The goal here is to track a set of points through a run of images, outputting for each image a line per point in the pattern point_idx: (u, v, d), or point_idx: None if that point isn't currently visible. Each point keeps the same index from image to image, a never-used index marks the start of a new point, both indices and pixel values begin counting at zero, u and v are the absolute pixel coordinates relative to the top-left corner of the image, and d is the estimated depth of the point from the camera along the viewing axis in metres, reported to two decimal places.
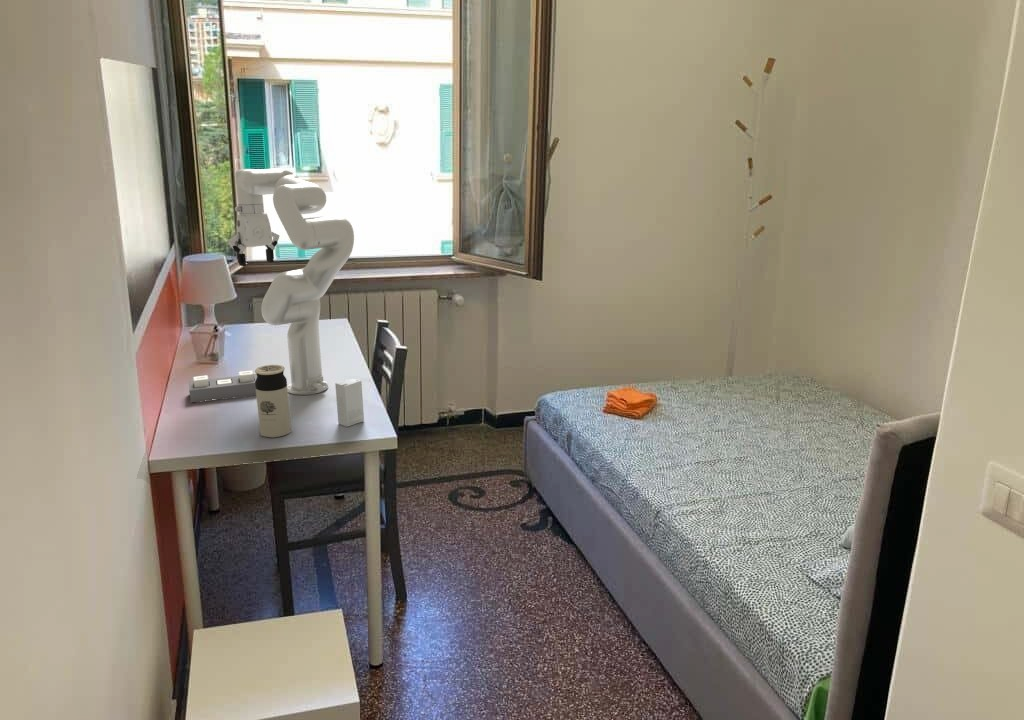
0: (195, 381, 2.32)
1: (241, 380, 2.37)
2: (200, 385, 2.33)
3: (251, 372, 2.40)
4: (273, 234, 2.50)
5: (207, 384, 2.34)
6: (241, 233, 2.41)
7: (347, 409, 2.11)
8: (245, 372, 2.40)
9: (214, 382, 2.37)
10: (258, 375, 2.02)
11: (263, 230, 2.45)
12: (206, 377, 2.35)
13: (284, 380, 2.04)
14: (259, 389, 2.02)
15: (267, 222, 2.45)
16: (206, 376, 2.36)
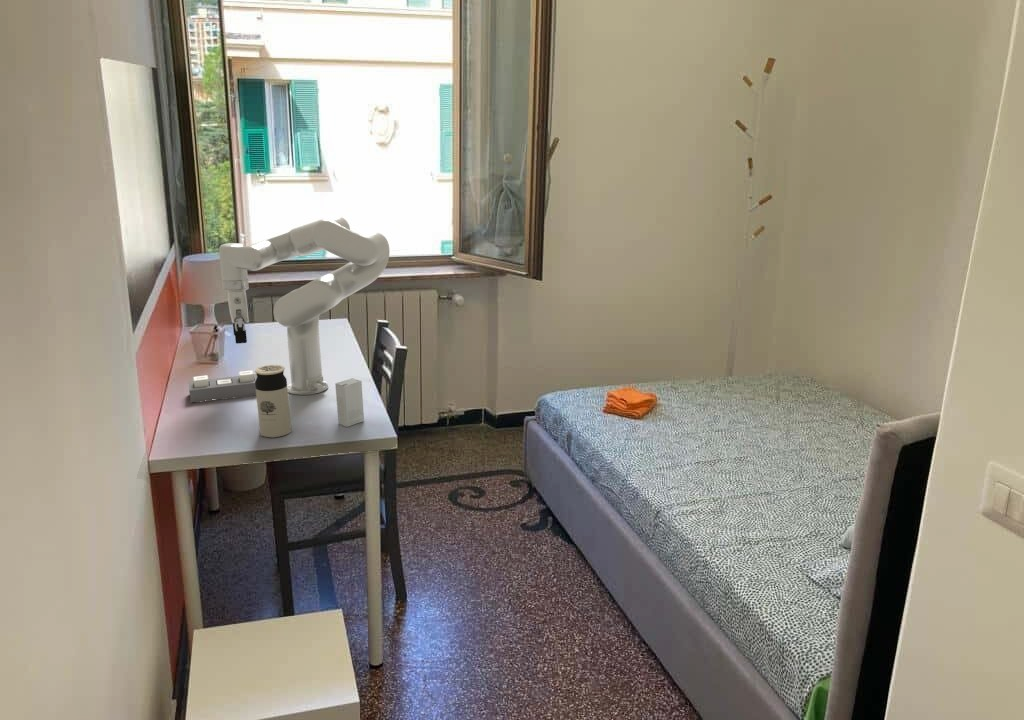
0: (195, 381, 2.32)
1: (241, 380, 2.37)
2: (200, 385, 2.33)
3: (251, 372, 2.40)
4: None
5: (207, 384, 2.34)
6: (243, 309, 2.34)
7: (347, 409, 2.11)
8: (245, 372, 2.40)
9: (214, 382, 2.37)
10: (258, 375, 2.02)
11: None
12: (206, 377, 2.35)
13: (284, 380, 2.04)
14: (259, 390, 2.02)
15: None
16: (206, 376, 2.36)
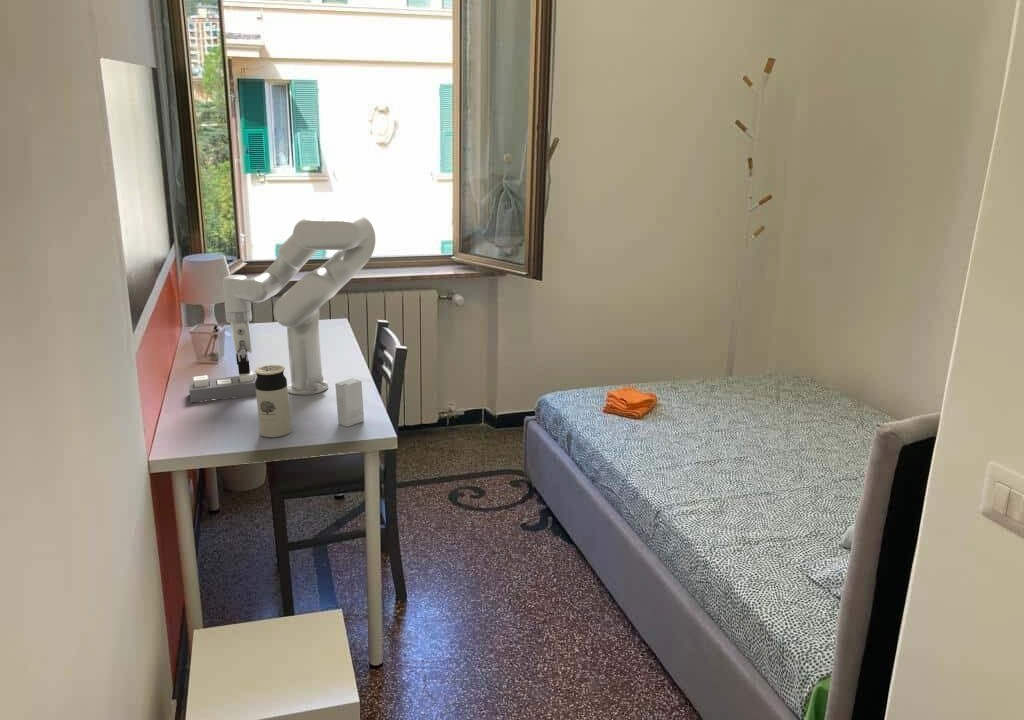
0: (195, 381, 2.32)
1: (241, 381, 2.37)
2: (200, 385, 2.33)
3: (251, 373, 2.40)
4: None
5: (207, 384, 2.34)
6: (247, 340, 2.37)
7: (347, 409, 2.11)
8: None
9: (214, 382, 2.37)
10: (258, 375, 2.02)
11: None
12: (206, 377, 2.35)
13: (284, 380, 2.04)
14: (259, 389, 2.02)
15: None
16: (206, 376, 2.36)
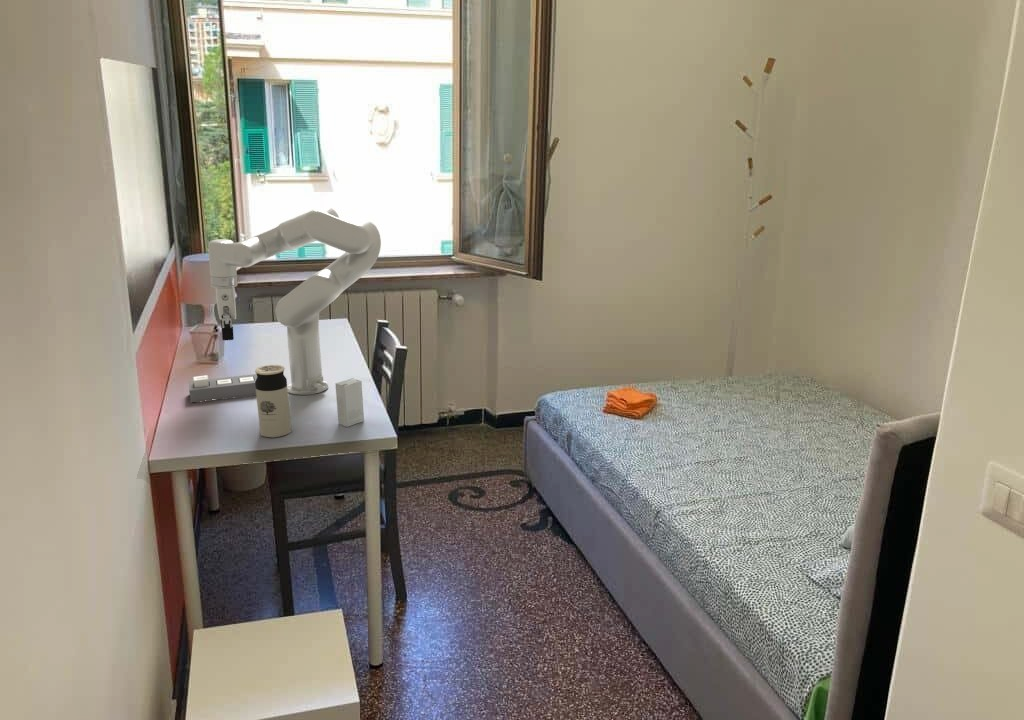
0: (195, 381, 2.32)
1: None
2: (200, 385, 2.33)
3: (252, 378, 2.40)
4: None
5: (207, 384, 2.34)
6: (231, 306, 2.32)
7: (347, 409, 2.11)
8: (246, 378, 2.40)
9: (214, 382, 2.37)
10: (258, 375, 2.02)
11: None
12: (206, 377, 2.35)
13: (284, 380, 2.04)
14: (259, 389, 2.02)
15: None
16: (206, 376, 2.36)
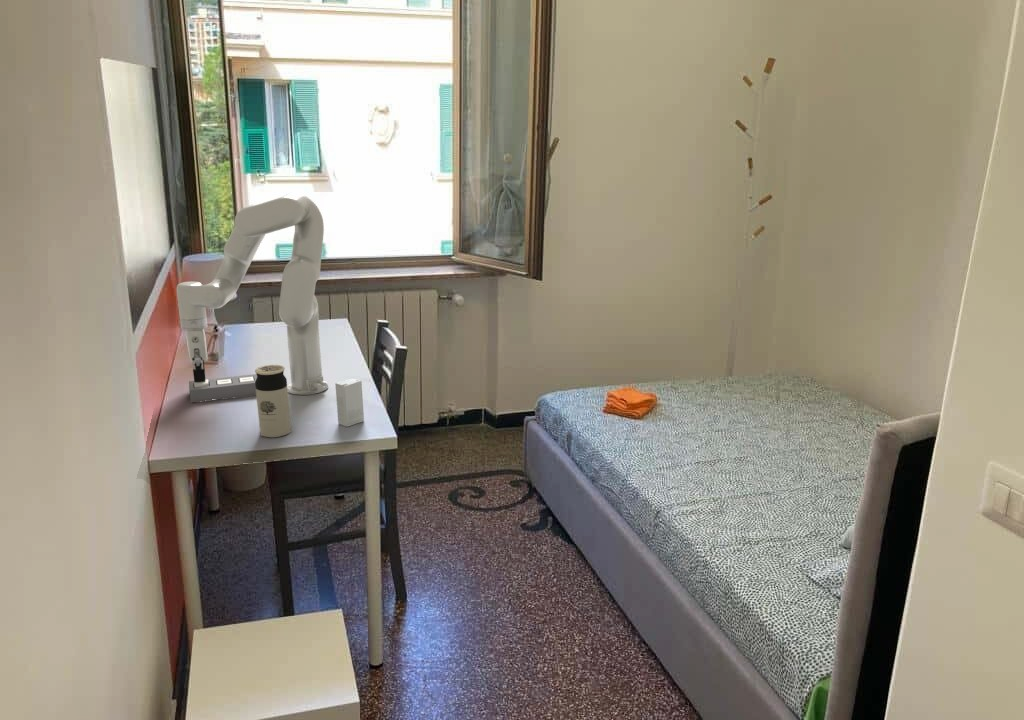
0: (196, 385, 2.33)
1: None
2: None
3: (252, 378, 2.40)
4: None
5: None
6: (202, 348, 2.32)
7: (347, 409, 2.11)
8: (246, 378, 2.40)
9: (214, 382, 2.37)
10: (258, 375, 2.02)
11: None
12: (206, 381, 2.35)
13: (284, 380, 2.04)
14: (259, 389, 2.02)
15: None
16: (206, 380, 2.36)
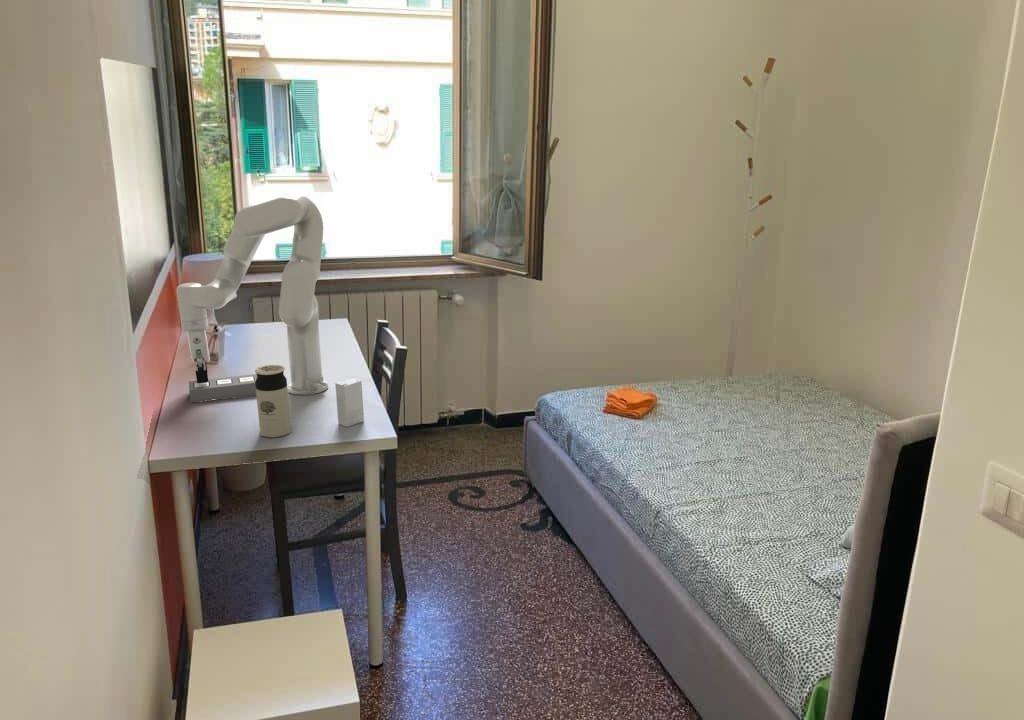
0: None
1: None
2: None
3: (252, 378, 2.40)
4: None
5: None
6: (203, 349, 2.33)
7: (347, 409, 2.11)
8: (246, 378, 2.40)
9: (214, 382, 2.37)
10: (258, 375, 2.02)
11: None
12: (207, 384, 2.36)
13: (284, 380, 2.04)
14: (259, 389, 2.02)
15: None
16: (207, 383, 2.36)
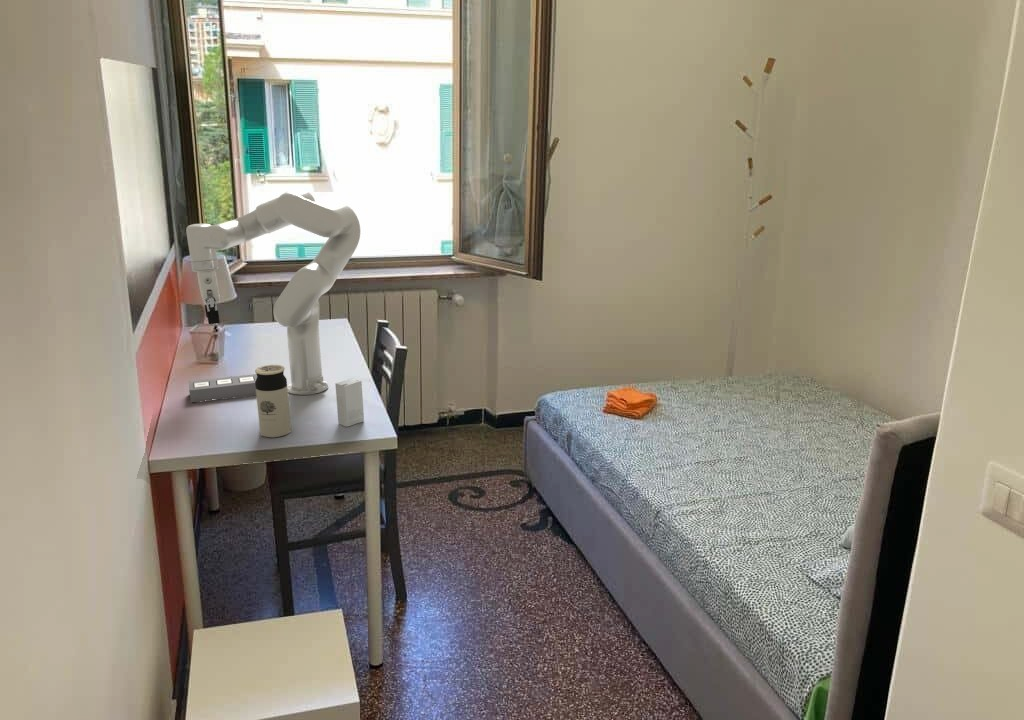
0: None
1: None
2: None
3: (252, 378, 2.40)
4: None
5: None
6: (214, 289, 2.33)
7: (347, 409, 2.11)
8: (246, 378, 2.40)
9: (214, 382, 2.37)
10: (258, 375, 2.02)
11: None
12: (207, 384, 2.36)
13: (284, 380, 2.04)
14: (259, 389, 2.02)
15: None
16: (207, 383, 2.36)
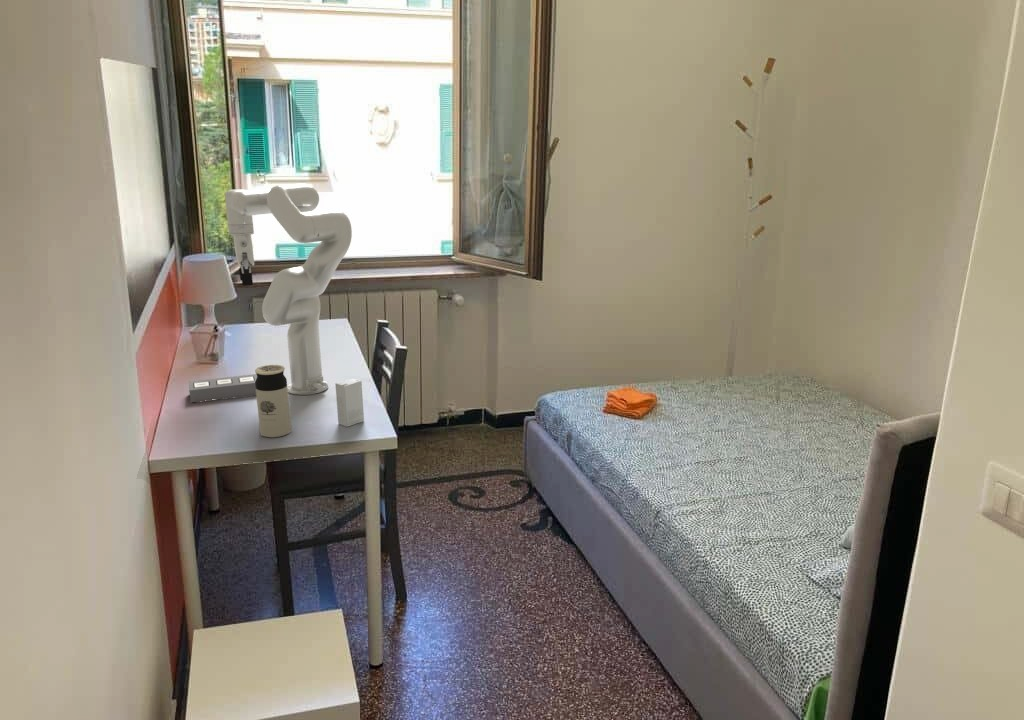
0: None
1: None
2: None
3: (252, 378, 2.40)
4: None
5: None
6: (249, 252, 2.45)
7: (347, 409, 2.11)
8: (246, 378, 2.40)
9: (214, 382, 2.37)
10: (258, 375, 2.02)
11: None
12: (207, 384, 2.36)
13: (284, 380, 2.04)
14: (259, 389, 2.02)
15: None
16: (207, 383, 2.36)
